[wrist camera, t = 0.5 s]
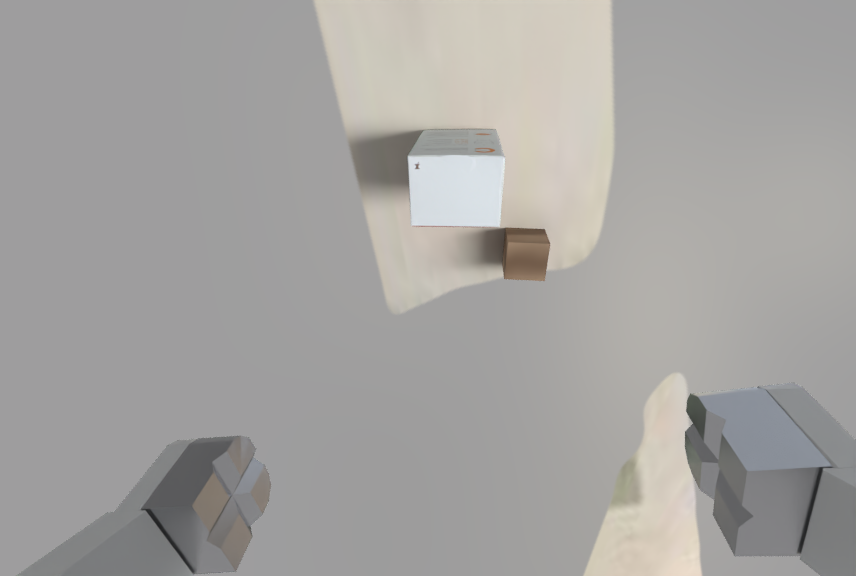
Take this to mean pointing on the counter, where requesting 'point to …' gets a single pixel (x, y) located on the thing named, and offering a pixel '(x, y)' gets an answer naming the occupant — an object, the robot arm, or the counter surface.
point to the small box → (456, 178)
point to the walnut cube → (525, 254)
